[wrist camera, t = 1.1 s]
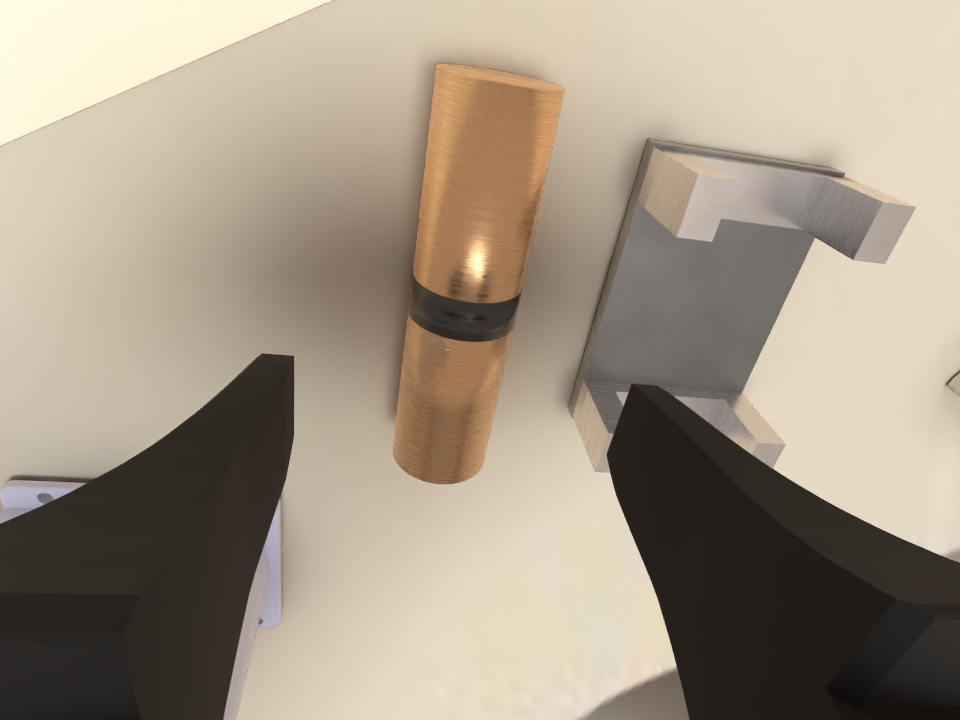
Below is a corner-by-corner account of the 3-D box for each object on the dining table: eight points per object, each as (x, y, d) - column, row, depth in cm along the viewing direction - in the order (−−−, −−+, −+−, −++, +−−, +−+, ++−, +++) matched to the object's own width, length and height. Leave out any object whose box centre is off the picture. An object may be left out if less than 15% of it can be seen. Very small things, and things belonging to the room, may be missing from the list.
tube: (461, 417, 23) (500, 473, 20) (379, 430, 21) (411, 493, 19) (524, 73, 16) (591, 96, 14) (416, 58, 15) (470, 81, 13)
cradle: (568, 408, 22) (594, 474, 19) (647, 138, 17) (699, 170, 14) (717, 418, 23) (764, 482, 20) (833, 168, 18) (918, 203, 15)
